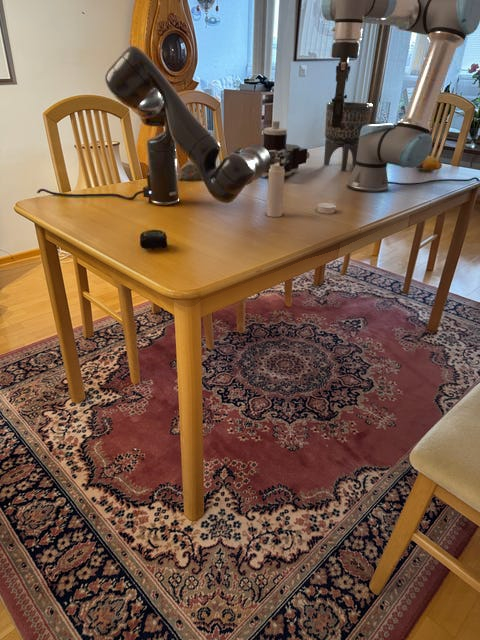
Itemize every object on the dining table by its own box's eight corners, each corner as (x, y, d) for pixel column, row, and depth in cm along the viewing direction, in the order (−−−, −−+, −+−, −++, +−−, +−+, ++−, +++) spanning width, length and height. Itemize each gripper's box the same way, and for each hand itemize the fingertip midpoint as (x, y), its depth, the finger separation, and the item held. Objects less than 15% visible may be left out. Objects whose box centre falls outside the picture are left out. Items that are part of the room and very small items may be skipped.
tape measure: (140, 252, 115) (139, 238, 113) (141, 242, 120) (140, 229, 119) (167, 251, 116) (166, 237, 114) (167, 241, 121) (166, 228, 120)
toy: (415, 164, 201) (409, 156, 214) (418, 178, 204) (412, 170, 217) (442, 156, 198) (434, 149, 211) (444, 170, 201) (436, 162, 214)
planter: (313, 167, 208) (319, 103, 195) (331, 160, 222) (338, 101, 209) (353, 173, 199) (362, 107, 185) (369, 166, 213) (379, 104, 199)
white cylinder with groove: (335, 214, 147) (336, 208, 146) (318, 213, 147) (318, 207, 146) (333, 209, 152) (334, 203, 151) (317, 208, 152) (317, 202, 151)
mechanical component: (240, 120, 182) (283, 115, 202) (239, 174, 192) (280, 164, 212) (283, 126, 170) (325, 120, 190) (280, 183, 180) (320, 171, 200)
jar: (266, 212, 147) (269, 162, 139) (281, 212, 147) (284, 162, 139) (266, 216, 143) (269, 165, 135) (282, 217, 143) (285, 165, 135)
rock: (201, 173, 191) (201, 157, 188) (214, 178, 186) (214, 161, 182) (175, 178, 184) (174, 161, 180) (187, 183, 178) (186, 166, 175)
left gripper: (280, 149, 108) (294, 139, 121) (224, 145, 111) (243, 135, 125) (278, 181, 112) (292, 168, 125) (224, 176, 115) (243, 164, 128)
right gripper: (334, 43, 137) (326, 119, 147) (330, 40, 116) (321, 129, 126) (359, 43, 135) (349, 120, 146) (360, 40, 114) (349, 130, 125)
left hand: (268, 152), depth 125 cm, fingers open, 8 cm apart
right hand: (336, 124), depth 136 cm, fingers open, 13 cm apart
